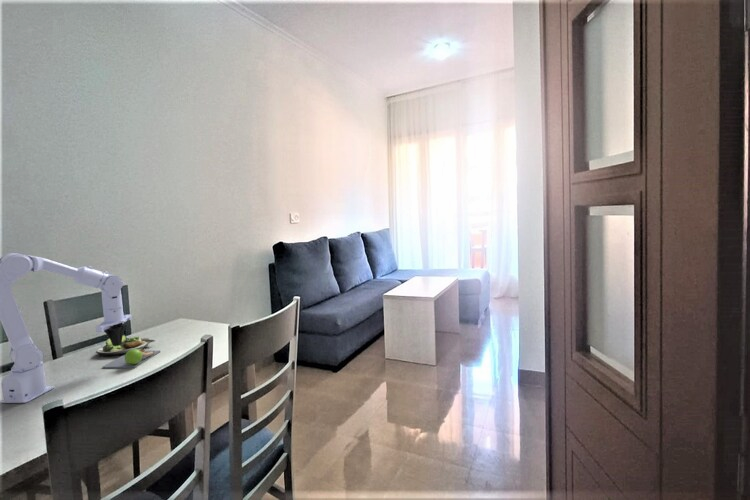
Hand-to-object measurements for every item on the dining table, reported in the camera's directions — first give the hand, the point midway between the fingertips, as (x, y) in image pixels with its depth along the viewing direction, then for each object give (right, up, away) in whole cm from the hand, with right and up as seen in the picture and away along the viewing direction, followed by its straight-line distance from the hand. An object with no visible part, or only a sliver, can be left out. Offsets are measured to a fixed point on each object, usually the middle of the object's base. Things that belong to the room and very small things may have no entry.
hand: (117, 345), depth 132 cm
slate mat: (0, -8, +8) cm, 11 cm away
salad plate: (-10, -6, +19) cm, 23 cm away
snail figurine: (+6, -5, -1) cm, 7 cm away
